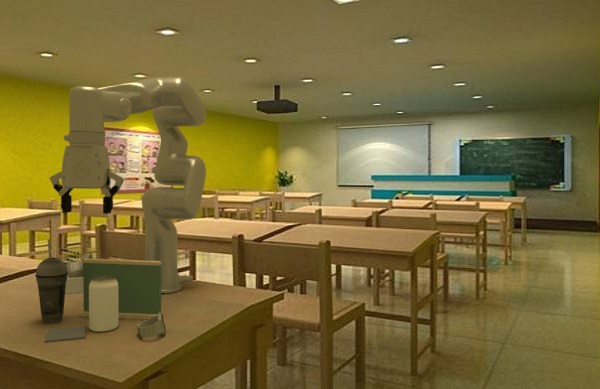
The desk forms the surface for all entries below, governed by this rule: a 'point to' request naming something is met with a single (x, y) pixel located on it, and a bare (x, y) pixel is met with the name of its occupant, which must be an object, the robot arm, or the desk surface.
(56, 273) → the beverage cup
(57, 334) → the grey mat
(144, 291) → the chalkboard panel
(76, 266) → the voltmeter
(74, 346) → the desk surface
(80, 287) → the tool caddy
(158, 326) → the wristwatch
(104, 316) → the can
